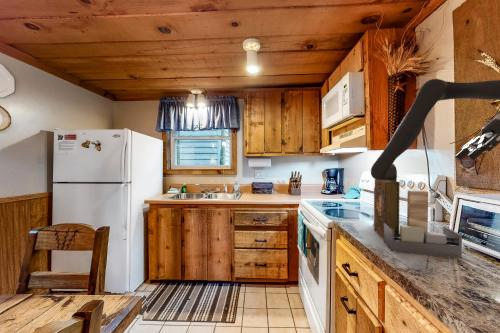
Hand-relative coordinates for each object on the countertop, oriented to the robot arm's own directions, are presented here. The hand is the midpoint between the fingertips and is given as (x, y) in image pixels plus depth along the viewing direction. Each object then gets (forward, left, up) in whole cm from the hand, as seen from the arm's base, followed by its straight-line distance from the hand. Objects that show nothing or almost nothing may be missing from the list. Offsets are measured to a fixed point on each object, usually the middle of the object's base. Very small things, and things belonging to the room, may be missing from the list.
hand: (463, 158), depth 89 cm
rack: (0, -14, -35) cm, 37 cm away
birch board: (-2, -14, -35) cm, 37 cm away
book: (-16, -22, -35) cm, 44 cm away
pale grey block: (+3, -10, -35) cm, 36 cm away
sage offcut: (+3, -17, -35) cm, 39 cm away
